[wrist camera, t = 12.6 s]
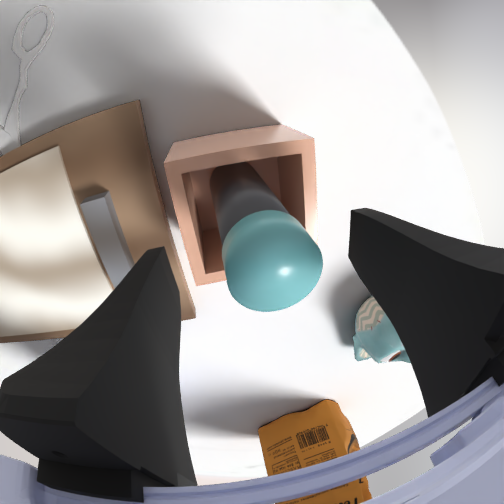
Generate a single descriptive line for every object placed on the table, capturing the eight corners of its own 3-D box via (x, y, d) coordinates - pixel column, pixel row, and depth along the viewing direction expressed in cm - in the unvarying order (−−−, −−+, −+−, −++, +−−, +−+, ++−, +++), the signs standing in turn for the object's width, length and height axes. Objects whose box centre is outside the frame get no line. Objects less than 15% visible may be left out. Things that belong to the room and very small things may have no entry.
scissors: (49, -19, 7) (122, 261, 18) (54, -16, 8) (125, 254, 18) (-57, 65, 6) (17, 291, 17) (-51, 65, 7) (21, 285, 18)
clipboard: (195, 309, 21) (196, 327, 20) (-11, 337, 19) (-18, 350, 18) (139, 99, 13) (131, 101, 11) (-78, 212, 11) (-90, 223, 10)
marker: (262, 201, 17) (321, 298, 10) (213, 211, 17) (235, 320, 9) (256, 153, 16) (322, 220, 8) (203, 163, 15) (218, 242, 8)
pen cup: (289, 219, 19) (317, 260, 15) (195, 237, 18) (196, 286, 14) (281, 124, 15) (314, 138, 11) (173, 142, 15) (163, 163, 11)
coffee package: (346, 413, 38) (393, 528, 20) (275, 441, 39) (306, 556, 21) (335, 391, 33) (393, 537, 14) (248, 425, 34) (283, 568, 15)
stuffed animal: (398, 393, 27) (350, 403, 20) (369, 348, 32) (313, 337, 25) (469, 328, 23) (456, 310, 16) (432, 285, 28) (399, 249, 21)
